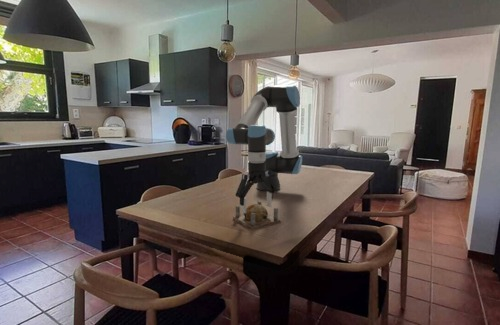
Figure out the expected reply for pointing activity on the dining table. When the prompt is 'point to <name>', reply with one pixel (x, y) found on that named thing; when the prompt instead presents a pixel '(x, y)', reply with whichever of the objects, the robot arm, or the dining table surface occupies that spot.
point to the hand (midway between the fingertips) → (256, 209)
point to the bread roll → (256, 212)
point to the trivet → (252, 224)
